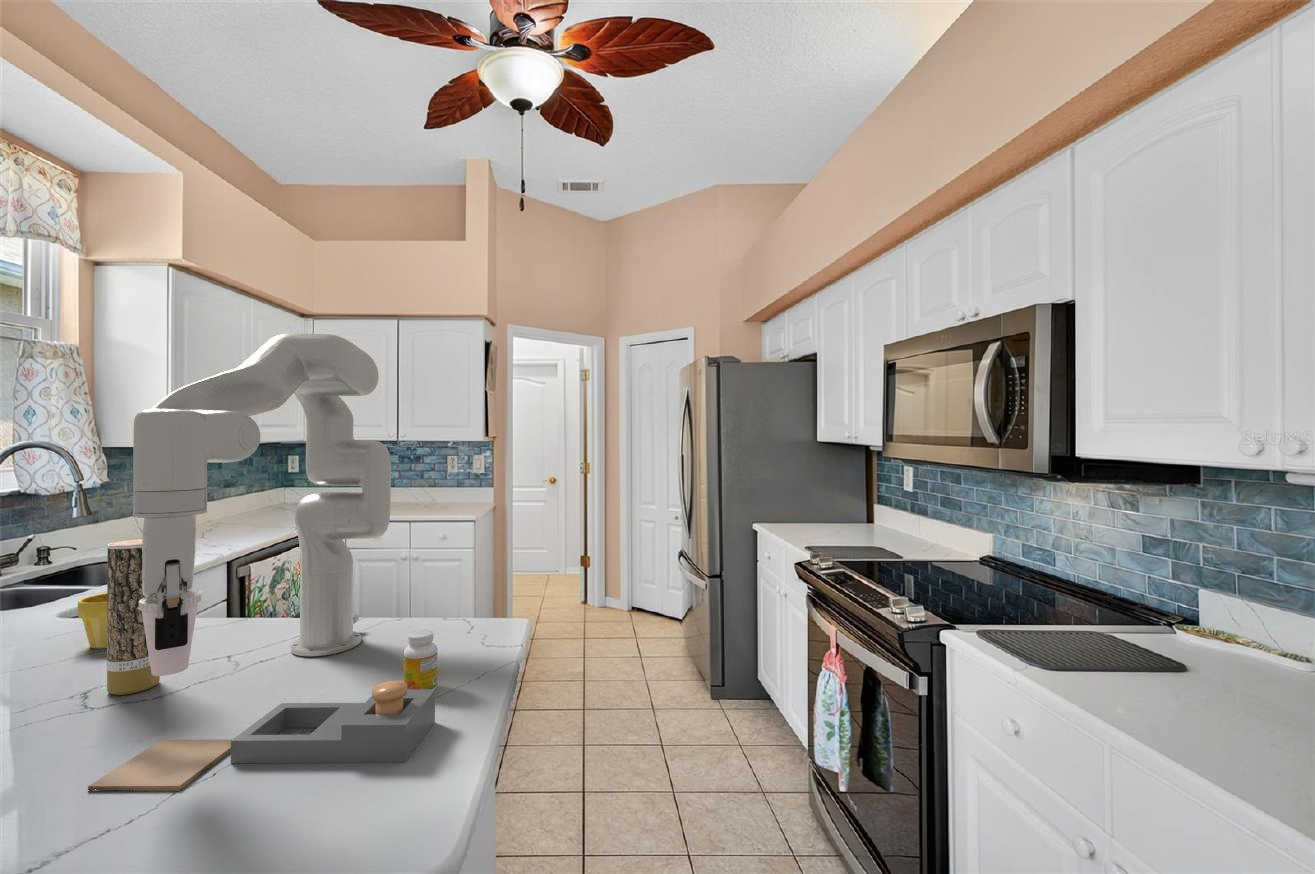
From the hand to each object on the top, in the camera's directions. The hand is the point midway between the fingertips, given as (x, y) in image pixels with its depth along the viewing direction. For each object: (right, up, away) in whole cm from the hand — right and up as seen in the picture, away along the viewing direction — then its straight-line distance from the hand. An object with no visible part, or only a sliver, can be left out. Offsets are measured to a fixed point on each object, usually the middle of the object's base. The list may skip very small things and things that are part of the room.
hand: (170, 638), depth 77 cm
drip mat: (0, -17, 0) cm, 17 cm away
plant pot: (-49, -16, +45) cm, 69 cm away
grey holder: (+19, -17, +6) cm, 26 cm away
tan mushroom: (+26, -16, +7) cm, 31 cm away
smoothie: (0, -4, 0) cm, 4 cm away
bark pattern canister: (-26, -17, +23) cm, 39 cm away
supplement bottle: (+23, -17, +24) cm, 37 cm away
